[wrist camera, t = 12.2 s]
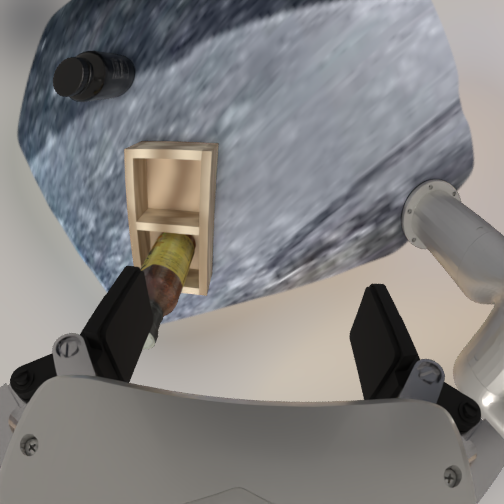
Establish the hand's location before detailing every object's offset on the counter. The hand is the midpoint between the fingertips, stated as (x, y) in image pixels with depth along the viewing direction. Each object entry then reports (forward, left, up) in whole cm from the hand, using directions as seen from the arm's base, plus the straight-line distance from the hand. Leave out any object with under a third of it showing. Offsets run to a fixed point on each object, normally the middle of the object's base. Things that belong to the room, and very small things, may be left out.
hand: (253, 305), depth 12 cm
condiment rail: (+11, +10, -31) cm, 34 cm away
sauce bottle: (+11, +15, -30) cm, 35 cm away
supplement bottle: (+22, -11, -31) cm, 40 cm away
